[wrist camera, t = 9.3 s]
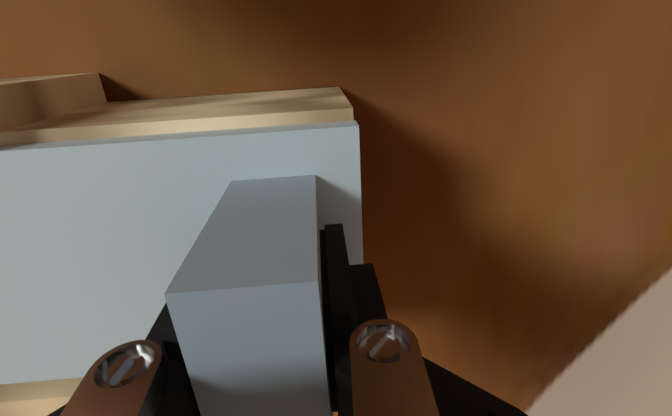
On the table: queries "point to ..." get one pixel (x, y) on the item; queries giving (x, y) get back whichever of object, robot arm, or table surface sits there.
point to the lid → (180, 256)
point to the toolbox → (133, 120)
